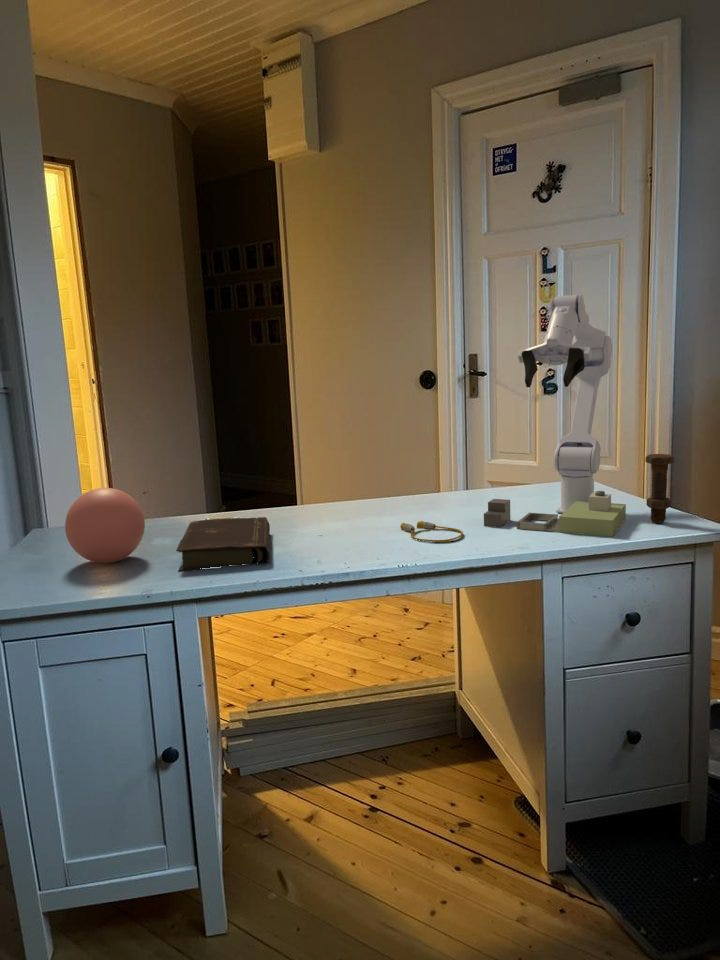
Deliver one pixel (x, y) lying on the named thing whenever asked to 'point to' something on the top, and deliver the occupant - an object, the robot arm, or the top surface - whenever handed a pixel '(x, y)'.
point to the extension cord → (429, 526)
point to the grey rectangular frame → (550, 525)
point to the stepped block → (497, 513)
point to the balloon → (104, 525)
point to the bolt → (659, 486)
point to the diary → (224, 542)
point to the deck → (593, 516)
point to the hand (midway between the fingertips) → (546, 383)
